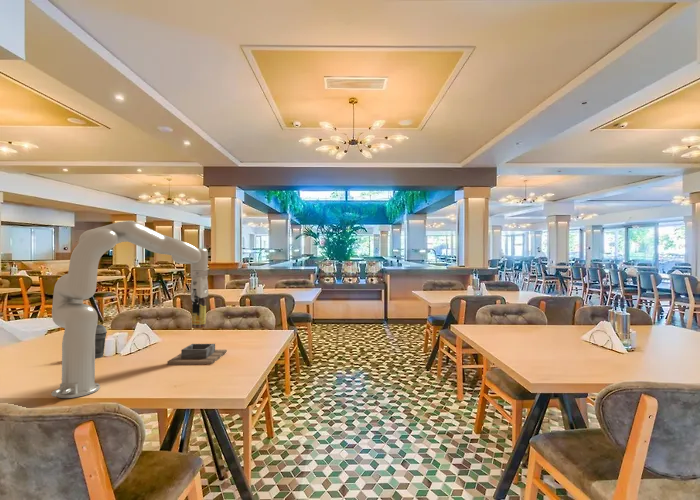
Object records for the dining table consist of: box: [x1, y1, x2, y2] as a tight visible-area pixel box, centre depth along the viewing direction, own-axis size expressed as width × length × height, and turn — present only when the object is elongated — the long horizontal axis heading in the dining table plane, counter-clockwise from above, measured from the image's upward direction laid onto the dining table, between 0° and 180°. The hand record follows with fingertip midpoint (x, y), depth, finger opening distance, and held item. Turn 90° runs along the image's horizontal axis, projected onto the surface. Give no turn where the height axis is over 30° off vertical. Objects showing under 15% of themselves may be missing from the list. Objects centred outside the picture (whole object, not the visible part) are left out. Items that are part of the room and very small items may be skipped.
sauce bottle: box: [191, 297, 207, 329], centre depth 172 cm, size 7×6×20 cm
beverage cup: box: [95, 324, 108, 359], centre depth 174 cm, size 7×7×20 cm
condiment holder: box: [166, 343, 228, 366], centre depth 171 cm, size 20×20×6 cm
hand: (199, 311), depth 172 cm, fingers closed on sauce bottle, 6 cm apart
